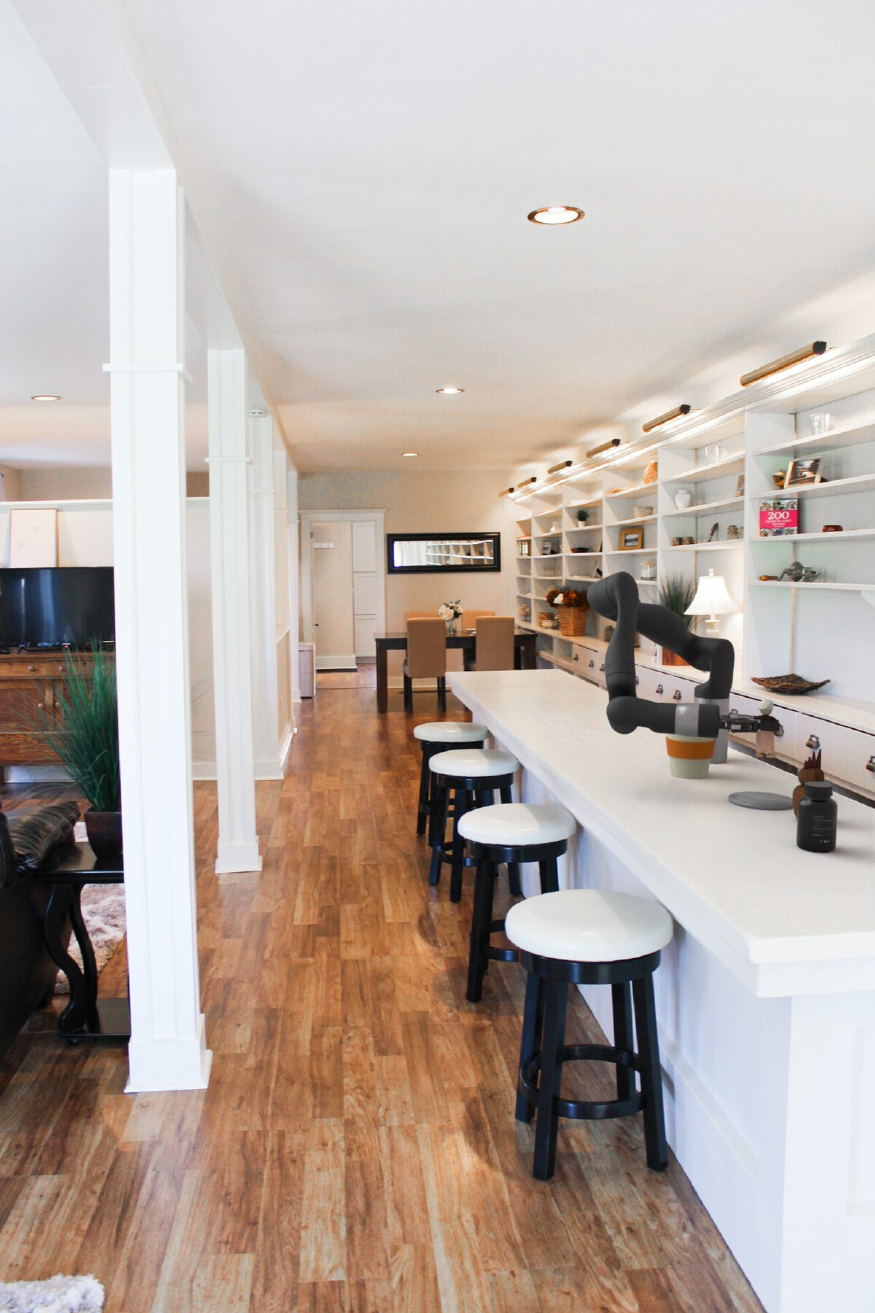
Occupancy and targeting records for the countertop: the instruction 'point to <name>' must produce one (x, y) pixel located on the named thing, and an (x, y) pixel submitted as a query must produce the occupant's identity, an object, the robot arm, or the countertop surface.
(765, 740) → the grandmother figurine
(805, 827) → the supplement bottle
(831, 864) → the countertop surface
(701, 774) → the reusable coffee cup
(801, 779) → the wooden figurine
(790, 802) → the slate coaster
